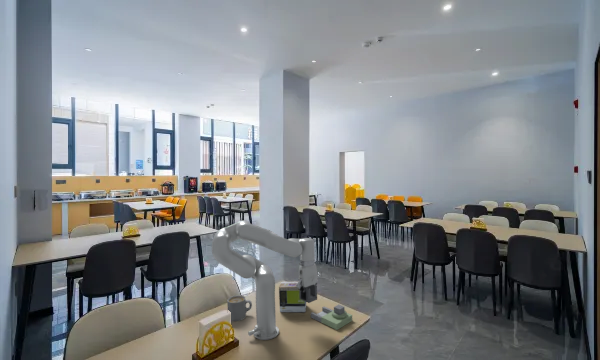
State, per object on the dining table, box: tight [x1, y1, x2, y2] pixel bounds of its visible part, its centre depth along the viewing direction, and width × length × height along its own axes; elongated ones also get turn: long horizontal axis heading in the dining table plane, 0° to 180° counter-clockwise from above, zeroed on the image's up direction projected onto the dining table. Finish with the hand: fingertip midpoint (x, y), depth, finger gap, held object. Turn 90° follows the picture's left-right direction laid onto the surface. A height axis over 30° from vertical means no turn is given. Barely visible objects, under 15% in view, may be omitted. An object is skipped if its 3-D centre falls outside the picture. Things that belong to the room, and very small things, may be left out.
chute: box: [299, 285, 318, 304], centre depth 145 cm, size 6×7×7 cm
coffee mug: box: [226, 294, 253, 322], centre depth 158 cm, size 13×10×10 cm
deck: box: [310, 304, 353, 331], centre depth 152 cm, size 13×18×8 cm
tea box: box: [278, 280, 307, 313], centre depth 166 cm, size 15×10×15 cm, turn 84°
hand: (308, 296), depth 145 cm, fingers closed on chute, 6 cm apart
